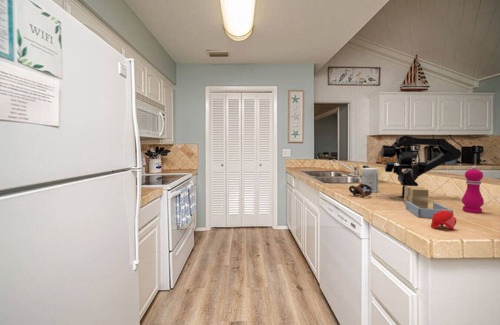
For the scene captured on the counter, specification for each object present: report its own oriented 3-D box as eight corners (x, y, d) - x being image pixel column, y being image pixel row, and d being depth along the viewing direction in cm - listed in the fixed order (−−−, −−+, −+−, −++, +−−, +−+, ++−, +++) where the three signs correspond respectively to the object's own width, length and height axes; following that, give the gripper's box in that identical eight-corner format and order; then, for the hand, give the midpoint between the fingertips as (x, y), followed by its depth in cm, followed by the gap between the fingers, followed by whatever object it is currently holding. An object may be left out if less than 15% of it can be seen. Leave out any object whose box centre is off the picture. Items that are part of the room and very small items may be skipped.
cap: (446, 215, 92) (431, 207, 93) (461, 214, 87) (445, 204, 87) (439, 235, 90) (424, 226, 90) (454, 235, 84) (438, 225, 85)
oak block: (403, 203, 128) (404, 185, 128) (417, 204, 127) (418, 186, 126) (412, 209, 117) (413, 189, 116) (427, 209, 115) (428, 189, 115)
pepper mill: (474, 209, 115) (476, 165, 114) (487, 213, 108) (490, 166, 107) (457, 209, 116) (459, 165, 114) (469, 213, 108) (471, 166, 107)
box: (405, 208, 117) (405, 200, 117) (434, 210, 114) (435, 202, 114) (418, 217, 102) (419, 208, 102) (452, 219, 99) (453, 210, 99)
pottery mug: (366, 195, 152) (372, 184, 147) (368, 205, 144) (374, 194, 139) (346, 190, 154) (351, 179, 149) (346, 199, 146) (351, 188, 141)
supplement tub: (369, 189, 170) (370, 167, 169) (381, 192, 161) (382, 168, 160) (357, 190, 167) (358, 168, 166) (369, 193, 158) (369, 169, 157)
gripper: (386, 146, 137) (391, 168, 127) (426, 146, 132) (435, 169, 122) (382, 160, 145) (387, 182, 135) (420, 161, 141) (427, 183, 130)
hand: (408, 179), depth 131 cm, fingers open, 4 cm apart
